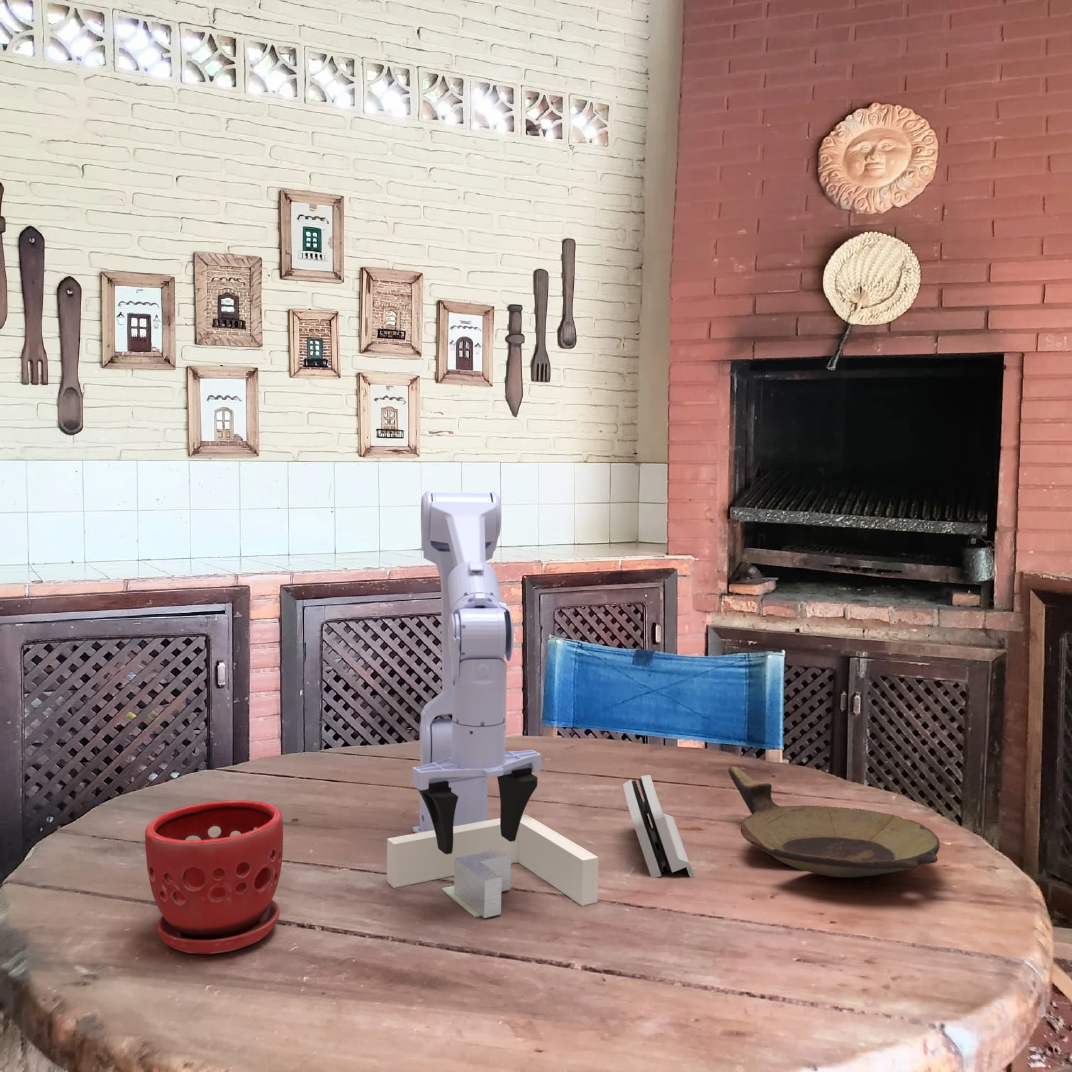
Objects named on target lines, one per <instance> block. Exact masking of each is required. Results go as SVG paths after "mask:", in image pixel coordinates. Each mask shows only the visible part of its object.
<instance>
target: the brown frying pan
mask: <svg viewBox="0 0 1072 1072" xmlns="http://www.w3.org/2000/svg"><path fill="white" fill-rule="evenodd" d="M727 772H728V774H729V776H730V778H731V780H732V782H733V784H734V786H735V787H736V789H737V790H738V793H739V794H740V795H741V798H742V799H743V801H744V803H745V804H746V807H747V809H748V810H749V812H750V815H748V816H746V817H745V818H744V819H743V820H742V821H741V823H740V833H741V835H742V837H743V838H744V839H745V840H746V841H747V842H749V843H750V844H752V845H753V846H754V847H756V848H758V849H759V850H761V851H763V852H765V853H766V854H768V855H771V856H772V857H773V858H775V859H776V860H778V861H780V862H781V863H784V864H786V865H788V866H790V867H792V868H794V869H799V870H801V871H805V872H808V873H812V874H816V875H821V876H825V877H830V878H831V877H832V878H858V877H859V878H860V877H871V876H879V875H883V874H890V873H894V872H899V871H904V870H905V871H906V870H915V869H917V868H918V866H923V865H929V864H935V863H937V862H938V860H939V859H938V856H937V854H938V853H939V851H940V848H941V847H940V846H941V844H940V839H939V837H938V836H937V835H936V834H935V832H934V831H932V830H931V829H930V828H928V827H926V826H924V825H923V824H922V823H920V822H917V821H915V820H913V819H905V818H903V817H902V816H899V815H895V814H889V813H885V812H881V811H874V810H867V809H861V808H850V807H843V806H842V807H841V806H840V807H837V806H826V805H825V806H820V805H805V804H804V805H790V806H789V805H784V806H782V805H778V804H776V803H775V802H774V801H773V799H772V787H773V786H772V783H770V782H760V781H756V780H755V779H753V778H751V777H750V776H749V775H747V774H746V772H744V771H743V770H742V769H741V768H740V767H737V766H733V765H731V766H730V767H729V768H728V771H727Z"/></svg>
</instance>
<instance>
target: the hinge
mask: <svg viewBox="0 0 1072 1072" xmlns="http://www.w3.org/2000/svg"><path fill="white" fill-rule="evenodd" d="M637 783H639V786H638V784H637ZM622 785H623V786H622V787H623V791H624V796H625V799H626V803H627V806H628V811H629V814H630V818H631V820H632V824H633V827H634V829H635V830H634V831H635V833H636V835H637V838H638V842H639V845H640V848H641V851H642V854H643V856H644V860H645V863H646V865H647V869H648V872H649V874H650V876H651V878H658V877H659V878H660V877H662V873H664V872H665V870H664V867H665V866H666V870H667V871H670V870H671V873H674V872H678V871H680V870H682V869H685V868H686V870H687V873H688V876H689V878H690V879H693V878H695V875H694V873H693V870H692V866H691V863H690V860H689V858H688V855H687V852H686V849H685V846H684V844H683V840H682V838H681V835H680V831H679V829H678V826H677V824H676V821H675V819H674V816H672V815H670V814H667V813H664V811H663V809H662V805H661V803H660V800H659V796H658V794H657V790H656V788H655V785H654V783H653V780H652V776H651V774H647V775H640V778H638V782H637V781H636V780H635V779H634V780H633V779H632V778H631V779H629V780H628V781H626V782H624V783H623V784H622ZM639 787H640V789H641V790H639ZM640 791H641V792H640ZM641 793H642V794H641ZM642 797H643V798H642ZM656 844H658V846H659V849H657V846H656Z"/></svg>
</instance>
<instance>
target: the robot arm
mask: <svg viewBox="0 0 1072 1072" xmlns="http://www.w3.org/2000/svg"><path fill="white" fill-rule="evenodd" d="M501 525H502V505H501V499H500V496H499V495H498V494H497V493H496V492H493V491H491V492H490V493H489V492H488V493H473V492H472V493H469V492H468V493H467V492H466V493H465V492H462V493H461V492H431V491H429V490H426V491H425V493H424V494H422V496H421V501H420V533H421V551H423V559H425V560H427V561H429V562H432V563H433V564H435V565H436V568H437V572H438V575H439V579H440V601H441V602H440V605H441V606H440V608H441V609H440V612H441V613H440V614H441V616H440V617H441V692H440V693H438V695H436V696H435V697H433V698H432V699H431V700H430V701H428V702H426V704H425V705H424V706H423V709H422V710H421V712H420V725H419V760H420V762H419V763H420V765H418V766H412V770H411V771H412V772H411V776H412V777H411V778H412V779H411V781H412V782H411V784H412V787H414V788H416V789H417V790H418V793H419V825H417V826H413V827H412V831H413V832H414V834H415V833H421V832H426V831H432V830H435V834H436V839H437V844H438V849H439V850H441V851H442V852H443V853H444V854H452V850H453V827H454V826H459V825H465V824H471V823H476V822H482V821H487V820H488V779H489V778H496V777H497V783H498V790H499V800H500V816H499V818H500V829H501V836H502V837H504V838H505V839H507V840H508V841H510V842H512V841H515V840H516V835H517V831H518V828H519V824H520V821H521V818H522V815H523V814H524V811H525V809H526V807H527V804H528V802H529V800H530V799H531V797H532V795H533V793H534V791H535V790H536V789H537V787H538V776H536V775H535V774H533V773H537V772H541V771H542V754H541V753H539V752H538V751H535V750H534V749H528V750H527V749H526V750H518V751H517V750H515V751H511V750H509V751H506V739H507V738H506V735H507V734H506V728H507V727H506V725H507V678H508V675H507V672H508V670H507V668H508V663H507V662H510V661H511V658H512V654H513V650H514V649H513V647H514V623H513V618H512V612H511V609H510V607H509V606H508V605H507V602H503V599H502V594H501V589H500V584H499V577H498V573H497V571H496V570H495V569H494V567H492V566H491V565H490V564H488V563H487V561H488V560H489V561H490V560H491V559H493V558H494V557H493V556H494V553H495V551H496V549H497V544H498V540H499V537H500V534H501V529H502V528H501ZM505 659H506V661H507V662H506V661H505ZM440 716H452V718H437V719H436V717H440Z"/></svg>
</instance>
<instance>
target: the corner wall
mask: <svg viewBox="0 0 1072 1072" xmlns="http://www.w3.org/2000/svg"><path fill="white" fill-rule="evenodd" d="M498 849H504V850H505V851H507V852H508V853H510V854H511V865H512V864H516V863H519V864H520V865H521V866H523V867H524V868H526V869H527V870H529V871H530V872H531V873H533V874H534V875H536V876H537V877H539V878H540V879H541V880H544V881H545V882H546V883H548V884H549V885H551V886H553V887H554V888H555V889H557V890H558V891H559V892H561V893H563V894H564V895H566V896H567V897H568V898H570V899H571V900H573V901H574V902H576V903H577V904H579V905H580V906H582V907H583V906H587V905H591V904H596V903H598V899H599V896H598V895H599V894H598V891H599V856H597V855H595V854H593V853H591V852H590V851H589V850H587V849H585V848H583V847H581V846H580V845H578V844H576V843H575V842H573V841H572V840H570V839H568V838H567V837H565V836H563V835H561V834H560V833H558V832H556V831H555V830H553V829H551V828H550V827H548V826H546V825H545V824H544V823H541V822H539V820H536V819H535V818H533V817H531V816H530V815H528V814H526V813H523V815H522V818H521V821H520V824H519V828H518V831H517V835H516V840H515V841H512V842H510V841H508V840H507V839H505V838H504V837H502V836H501V829H500V817H499V818H493V819H487V821H482V822H476V823H471V824H465V825H459V826H454V827H453V850H452V854H444V853H443V852H442V851H441V850H439V849H438V844H437V839H436V834H435V830H432V831H426V832H421V833H415V832H414V833H411V834H405V835H399V836H395V837H388V838H387V839H386V882H387V883H388V885H390V886H391V887H392V888H393V889H396V888H401V887H405V886H410V885H414V884H415V885H416V884H419V883H425V882H428V881H433V880H434V881H435V880H439V879H444V878H447V877H453V876H454V868H455V858H459V857H464V856H469V855H473V854H478V853H483V852H488V851H493V850H498Z"/></svg>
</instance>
